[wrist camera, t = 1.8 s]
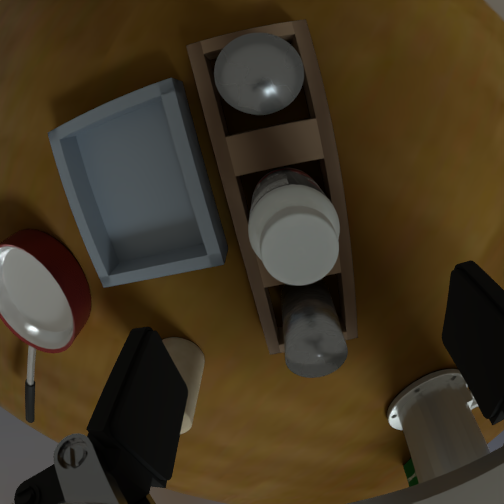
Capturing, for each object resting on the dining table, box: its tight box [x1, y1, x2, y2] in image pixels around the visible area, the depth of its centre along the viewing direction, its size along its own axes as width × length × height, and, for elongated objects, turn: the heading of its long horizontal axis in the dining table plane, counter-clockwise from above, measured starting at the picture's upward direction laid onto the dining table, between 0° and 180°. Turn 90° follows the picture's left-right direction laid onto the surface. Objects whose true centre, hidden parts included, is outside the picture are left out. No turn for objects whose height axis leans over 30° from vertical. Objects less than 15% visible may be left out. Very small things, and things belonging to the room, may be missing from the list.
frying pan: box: [0, 229, 91, 423], centre depth 30 cm, size 32×13×6 cm, turn 158°
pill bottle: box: [248, 167, 340, 286], centre depth 20 cm, size 5×5×10 cm
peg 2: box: [281, 279, 348, 378], centre depth 24 cm, size 4×4×8 cm
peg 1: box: [214, 33, 304, 115], centre depth 17 cm, size 4×4×8 cm
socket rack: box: [186, 19, 358, 354], centre depth 23 cm, size 8×26×2 cm, turn 13°
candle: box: [162, 337, 205, 434], centre depth 27 cm, size 6×6×10 cm
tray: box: [48, 78, 228, 288], centre depth 23 cm, size 11×14×3 cm
